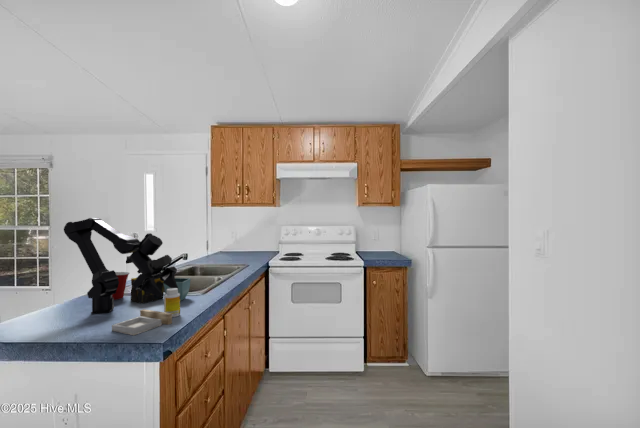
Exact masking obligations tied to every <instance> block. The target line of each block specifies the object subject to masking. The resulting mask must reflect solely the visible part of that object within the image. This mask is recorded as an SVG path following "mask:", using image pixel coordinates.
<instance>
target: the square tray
mask: <svg viewBox="0 0 640 428" xmlns="http://www.w3.org/2000/svg"><path fill="white" fill-rule="evenodd" d="M161 326H162V324H161V319H155V318H149V317H143V316H140V315H139V316H136V317H133V318H131V319H126V320H124V321H120V322H117V323H115V324H111V332H114V333H120V334H125V335H130V336H136V335H138V334H142V333H145V332H148V331H150V330H153V329H155V328H157V327H161Z"/></svg>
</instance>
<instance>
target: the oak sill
mask: <svg viewBox="0 0 640 428" xmlns="http://www.w3.org/2000/svg"><path fill="white" fill-rule="evenodd" d="M139 316H143V317H149V318H155V319H161V325H171V324H172V323H173V317H172V313H165V312H164V311H158V310H153V309H140V310H139Z"/></svg>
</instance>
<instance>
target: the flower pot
mask: <svg viewBox="0 0 640 428" xmlns="http://www.w3.org/2000/svg"><path fill="white" fill-rule="evenodd" d="M191 280H192V279H191V278H189V277H188V278H187V277H186V278H179V277H178V278H177V277H175V281H176V284H177V286H178V293H179V294H180V302H181V301H183V300H184V299H186V297H187V296H188V294H189V292H190V287H191ZM169 288H170V287H169V286H167V285H166V284H164V285H163V290H164V293H165V294H166V290H167V289H169ZM165 294H164V295H165Z"/></svg>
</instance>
